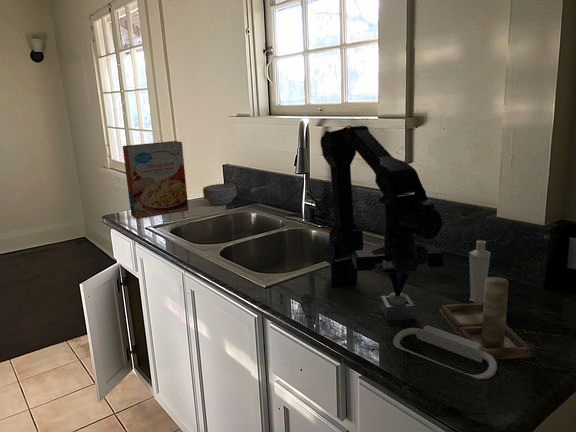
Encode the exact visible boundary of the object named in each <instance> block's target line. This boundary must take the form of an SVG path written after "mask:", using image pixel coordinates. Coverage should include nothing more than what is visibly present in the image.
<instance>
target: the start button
mask: <svg viewBox="0 0 576 432" xmlns="http://www.w3.org/2000/svg"><path fill="white" fill-rule="evenodd" d="M406 295H407V294H406V293H403V292H401V294H400V296H396V295H395V293H394V291H393V292H391V293H389V294H388V296H389V304H390V305H405V304H406Z"/></svg>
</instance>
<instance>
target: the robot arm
mask: <svg viewBox="0 0 576 432" xmlns="http://www.w3.org/2000/svg"><path fill="white" fill-rule="evenodd" d="M319 143H320V147H321V150H322V151H321V152H322V156H323V159H324V160H325V161H326V162H327V164H328V165H329V167H330V180H331V192H332V193H331V195H332V204H333V205H332V206H333V207H332V208H333V209H332V210H333V219H334V222H333V223H334V224H333V226H332V228H331V229H330V231H329V234H328V244H327V245H326V247H325V248H324V250H323V251H322V258H323V261H325V262H326V263H328V265H329V276H328V279H329V283H330V286H331V287H332V288H339V287H356V286H357V284H358V283H357V281H358V272H364V271H367V272H368V271H373V269H375V267H376V265H378V266H379V268H380V270H381V271H382V272H383V273H386V274H387V276H388V278H389V281H390V285H391V287H392V290H393V292H394V293H395V295H396V296H400V294H401V293H402V291H403V288H404V286H405V284H406V281H407V280H408V277H409V276H410V275H411V273H413V272H417V271H418V270H419V269H418V268H419V265H425V264H427V265H428V266H429V267H430V268H442V267H444V266H445V265H446V257H445V254H444V253H443V252H442V251H441V250H440V249H439V248H438V247H437V246H427V245H415V243H414V242H415V241H414V235H415V236H418V237H420V238H424V239H426V240H427V239H428V240H430V239H434V237H436V236H437V235H438V234H439V233H440V231H441V229H442V226H443V218H442V216H441V214H440V212H439V211H438V210H436V209H435V204H434V203H433V202H427V201H429V199H428V196H427V194H426V193H427V191H426V189H425V188H424V186H423V184H422V181H421V180H420V178H419V174H418V172H417V170H416V169H415V168H414V167H413V166H411V164H409V163H407V162H406V161H404V160H401V159H398V158H395V157H394V156H392V154H390V152H388V150H387V149H386V148H385V147H384V146H383V145H382V144H381V143H380V141H378V140H377V138H375V136H374V135H373V134H372V133H371V132H370V130H369V127H368V126H367V125H365V124H353V125H347V126H345V127H343V128H340V129H335V130H332V129H331V130H326V131H325V132H324V133H323V135H322V136H321V138H320V142H319ZM357 153H358V155H359V156H360V157H361V158H362V160H363V161H364V162H365V163H366V164H367V165H368V166H369V168H371V170H372V171H373V172H374V174H375V179H374V181H375V184H376V186H377V187H378V189H379V191H380V192H381V193H382V195H383V196H381V197H380V198H379V199H378V202H379V203H380V204H383V205H384V210H383V211H384V212H383V213H384V216H383V220H384V222H383V223H384V224H383V226H384V227H383V241H384V242H383V243H384V244H383V245H384V246H383V253H381V254H374V253H373V252H372V249H364V245H365V243H364V239H363V238H364V237H363V235H364V232H363V231H362V229H359V228H358V226H357V225H356V223H355V220H354V204H353V203H354V202H353V200H354V199H353V187H352V175H351V174H352V172H351V170H352V169H351V165H352V163H353V161H354V159H355V156H356V154H357Z"/></svg>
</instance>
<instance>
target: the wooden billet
mask: <svg viewBox="0 0 576 432" xmlns="http://www.w3.org/2000/svg"><path fill="white" fill-rule="evenodd" d="M509 284H510V283H509V280H508V279H506V278H504V277H499V276H488V277H487V278H486V279H485V291H484V308H483V325H482V342H481V343H482V345H483V346H484V347H486V348H488V349H494V348H504V340H505V326H506V324H507V311H508V310H507V309H508V296H509V295H508V294H509Z"/></svg>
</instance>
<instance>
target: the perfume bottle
mask: <svg viewBox="0 0 576 432" xmlns="http://www.w3.org/2000/svg"><path fill="white" fill-rule="evenodd" d="M475 242H476V243H475V245H476V246H475V249H474V250H472V251H469V255H468V257H469V287H470V288H469V290H470V297H469V301H470V302H471V301H472V302H473V303H484V291H485V279H486V278H488V277H489V275H488V274H489V268H490V261H491V253H492V252H490V251H488V250H486V242H487V240H481V239H480V240H476V241H475Z"/></svg>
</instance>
